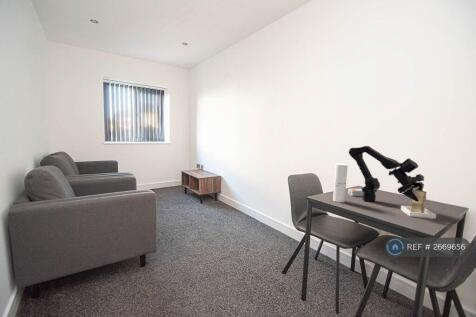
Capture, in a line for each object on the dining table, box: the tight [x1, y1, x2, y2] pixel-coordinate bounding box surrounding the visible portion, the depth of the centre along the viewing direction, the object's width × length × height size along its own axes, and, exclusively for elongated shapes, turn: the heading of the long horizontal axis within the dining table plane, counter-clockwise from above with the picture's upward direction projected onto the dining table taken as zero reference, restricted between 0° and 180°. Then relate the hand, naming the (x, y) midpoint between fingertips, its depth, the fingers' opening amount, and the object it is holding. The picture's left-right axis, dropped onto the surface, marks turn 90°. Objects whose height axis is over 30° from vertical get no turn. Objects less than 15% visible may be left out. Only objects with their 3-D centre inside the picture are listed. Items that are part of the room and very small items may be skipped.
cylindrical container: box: [332, 162, 349, 203], centre depth 151 cm, size 7×7×25 cm
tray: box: [400, 205, 437, 220], centre depth 130 cm, size 12×12×3 cm
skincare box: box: [347, 188, 364, 197], centre depth 167 cm, size 6×4×12 cm
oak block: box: [411, 190, 427, 213], centre depth 129 cm, size 4×4×13 cm
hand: (421, 200), depth 128 cm, fingers open, 9 cm apart
